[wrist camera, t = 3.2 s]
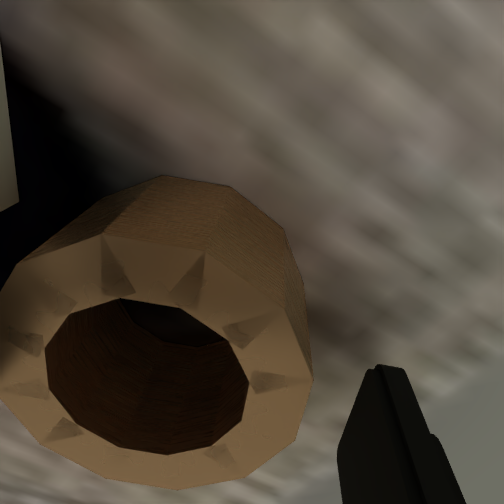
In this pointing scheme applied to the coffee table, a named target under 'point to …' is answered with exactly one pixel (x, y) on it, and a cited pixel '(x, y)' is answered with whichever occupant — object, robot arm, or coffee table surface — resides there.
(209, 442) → the beige thick ring
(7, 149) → the post board
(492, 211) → the coffee table surface
